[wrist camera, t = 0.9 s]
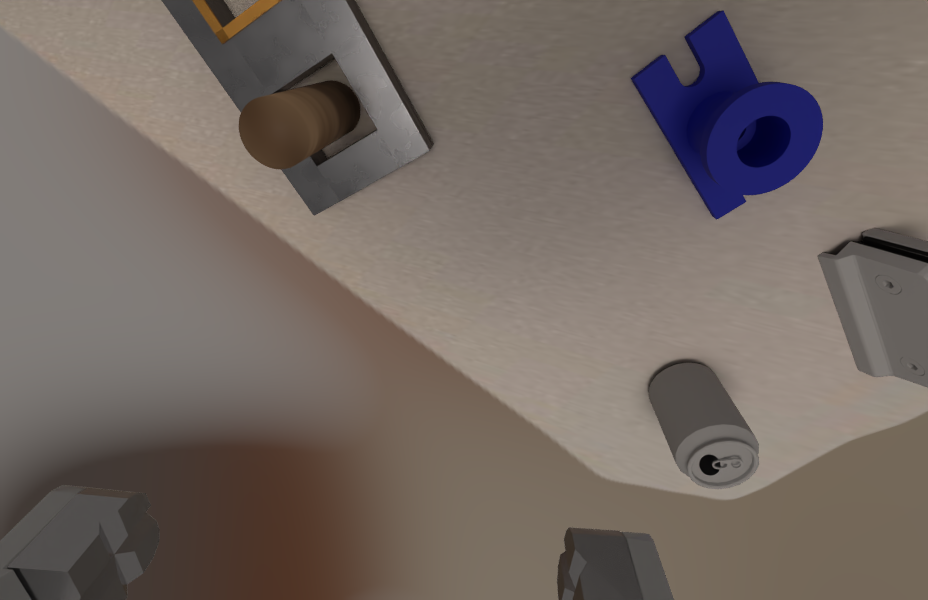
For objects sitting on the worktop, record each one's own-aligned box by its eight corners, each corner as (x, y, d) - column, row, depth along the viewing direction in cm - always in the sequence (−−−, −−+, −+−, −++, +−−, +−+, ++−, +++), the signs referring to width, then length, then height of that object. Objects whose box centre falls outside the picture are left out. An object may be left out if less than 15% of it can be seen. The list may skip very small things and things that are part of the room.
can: (638, 369, 53) (672, 450, 43) (708, 349, 51) (761, 429, 41) (655, 416, 56) (690, 503, 46) (721, 399, 54) (773, 485, 44)
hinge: (816, 252, 45) (935, 279, 36) (856, 222, 45) (986, 242, 36) (859, 372, 51) (970, 422, 42) (894, 346, 51) (1013, 390, 42)
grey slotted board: (248, -194, 33) (224, -216, 30) (433, 143, 43) (429, 151, 40) (126, -82, 36) (95, -92, 33) (324, 205, 46) (313, 216, 43)
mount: (792, 165, 42) (858, 193, 34) (711, 215, 44) (755, 251, 37) (716, 11, 37) (773, 3, 29) (630, 78, 39) (661, 87, 32)
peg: (327, 68, 40) (260, 79, 29) (370, 106, 42) (321, 131, 30) (300, 110, 42) (226, 136, 31) (342, 145, 43) (285, 183, 32)
